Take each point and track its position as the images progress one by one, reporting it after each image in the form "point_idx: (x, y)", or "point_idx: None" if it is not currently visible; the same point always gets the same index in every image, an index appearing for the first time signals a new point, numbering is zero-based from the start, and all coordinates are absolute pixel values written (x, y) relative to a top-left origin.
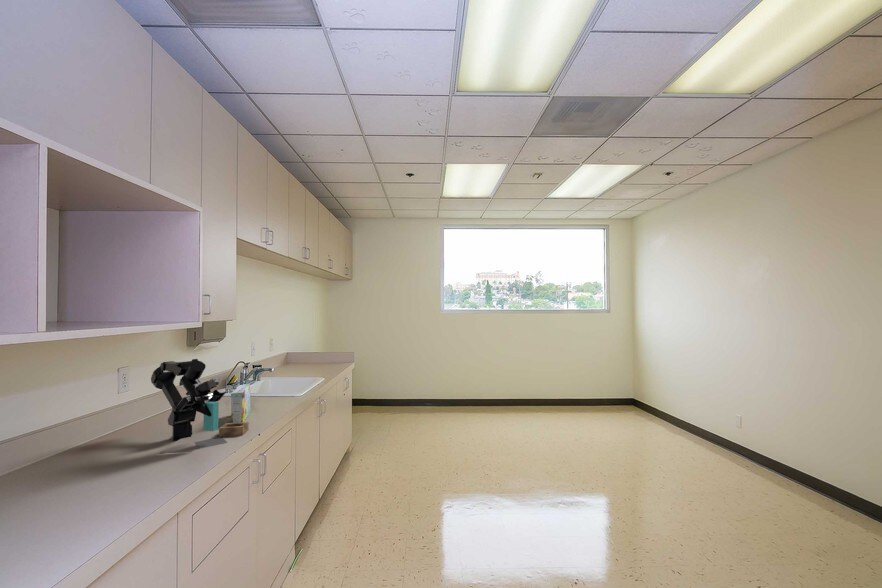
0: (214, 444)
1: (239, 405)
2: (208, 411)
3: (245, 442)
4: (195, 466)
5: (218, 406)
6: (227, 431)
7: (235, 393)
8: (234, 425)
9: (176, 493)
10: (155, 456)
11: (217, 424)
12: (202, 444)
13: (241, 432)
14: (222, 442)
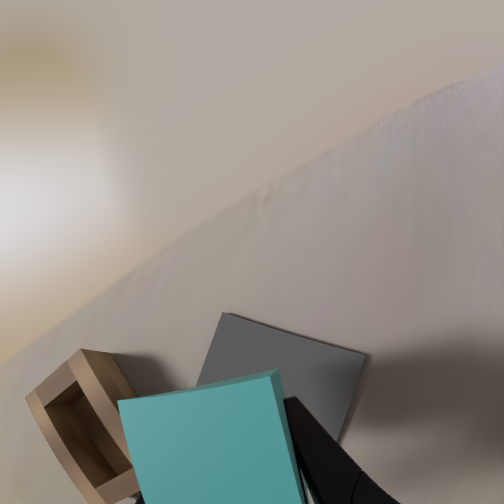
0: (280, 348)
1: None
2: (317, 432)
3: (166, 247)
4: (436, 163)
5: (157, 394)
6: None
7: None
8: (77, 453)
9: (477, 76)
10: (492, 427)
11: (229, 379)
12: (316, 412)
13: (102, 358)
14: (235, 340)
